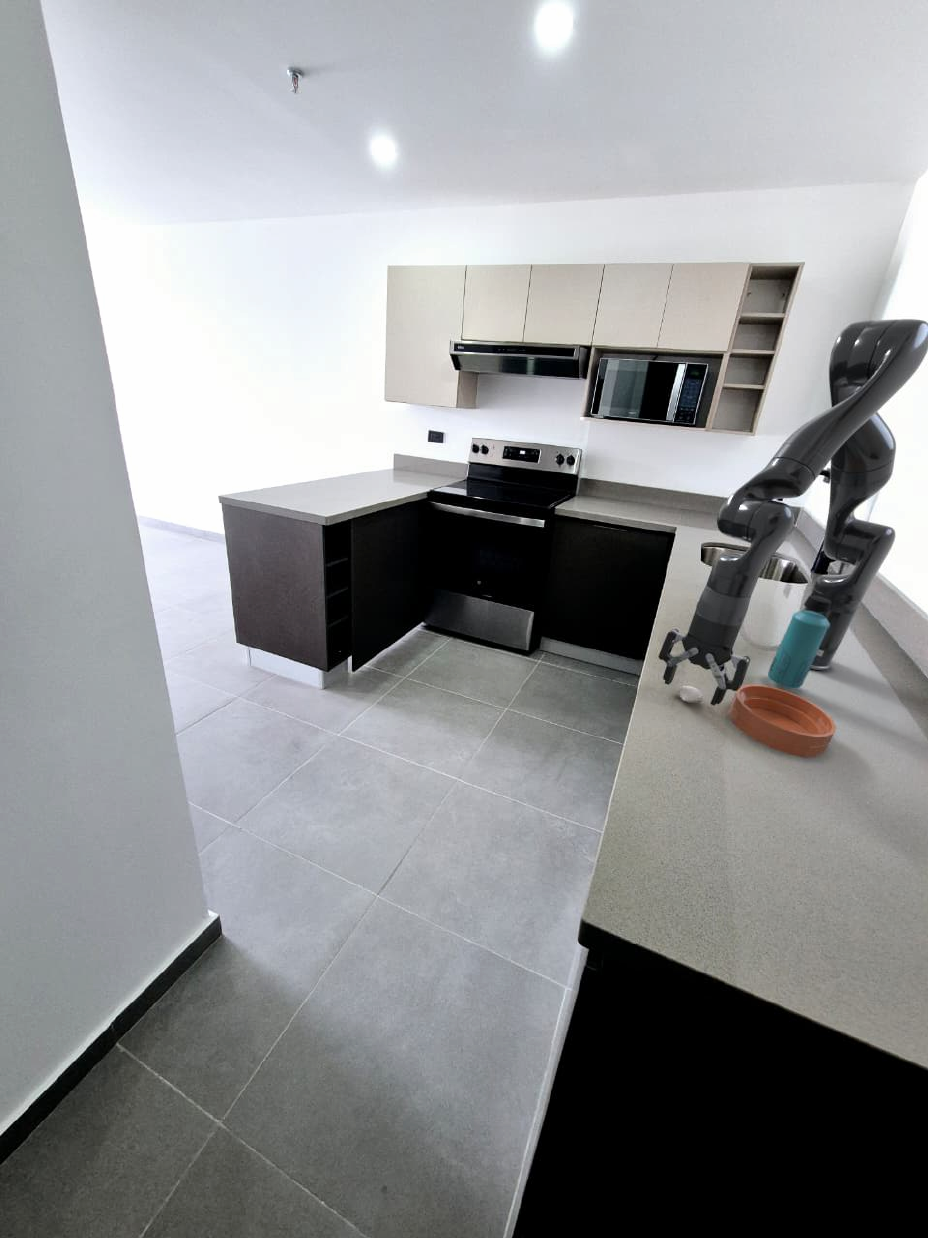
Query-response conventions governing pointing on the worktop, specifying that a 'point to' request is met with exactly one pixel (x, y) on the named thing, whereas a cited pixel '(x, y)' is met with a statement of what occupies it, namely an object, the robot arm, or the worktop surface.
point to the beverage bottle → (800, 644)
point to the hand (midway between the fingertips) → (690, 692)
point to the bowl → (781, 720)
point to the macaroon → (690, 694)
